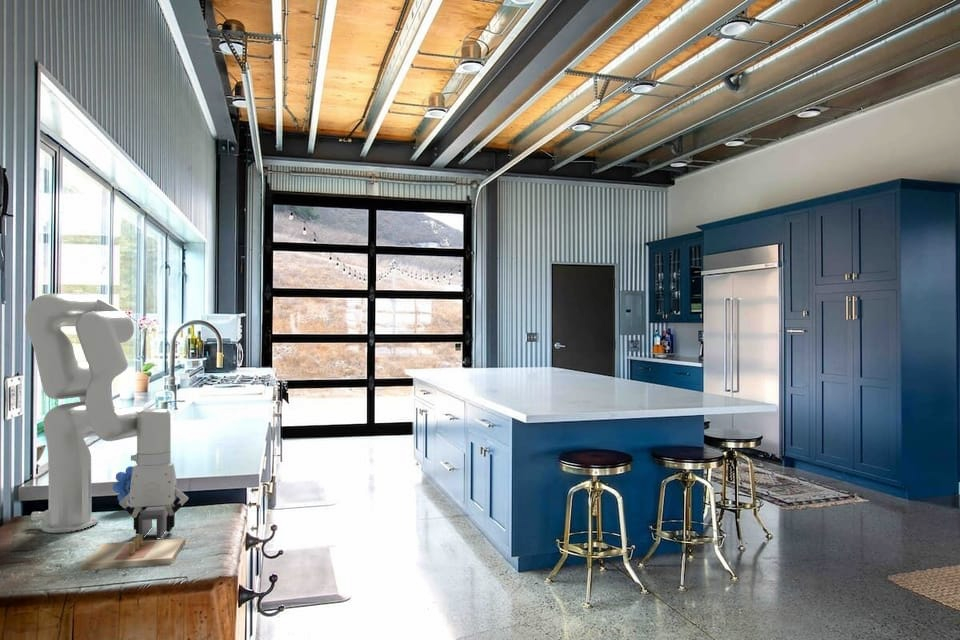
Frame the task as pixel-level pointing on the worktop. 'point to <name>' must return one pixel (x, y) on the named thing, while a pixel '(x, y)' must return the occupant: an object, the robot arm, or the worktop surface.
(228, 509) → the worktop surface
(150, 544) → the pin board
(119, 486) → the blue flower
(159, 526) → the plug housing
